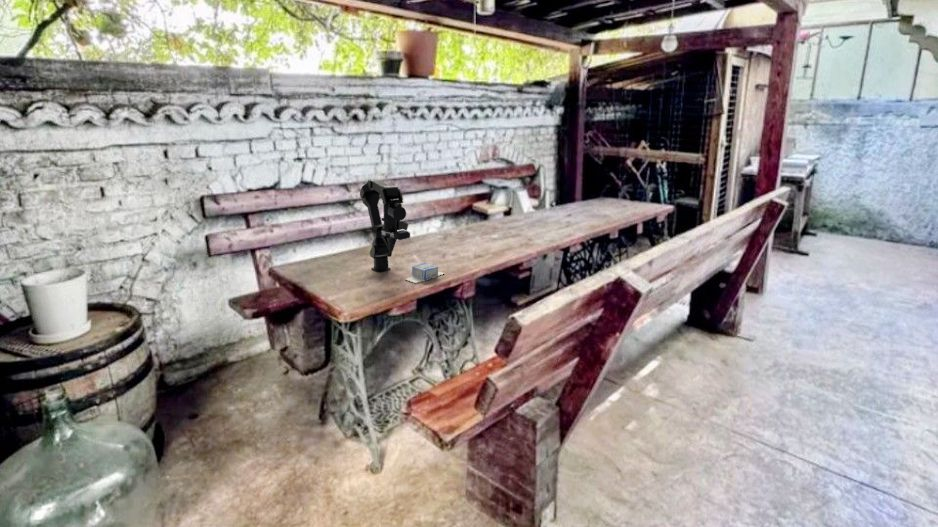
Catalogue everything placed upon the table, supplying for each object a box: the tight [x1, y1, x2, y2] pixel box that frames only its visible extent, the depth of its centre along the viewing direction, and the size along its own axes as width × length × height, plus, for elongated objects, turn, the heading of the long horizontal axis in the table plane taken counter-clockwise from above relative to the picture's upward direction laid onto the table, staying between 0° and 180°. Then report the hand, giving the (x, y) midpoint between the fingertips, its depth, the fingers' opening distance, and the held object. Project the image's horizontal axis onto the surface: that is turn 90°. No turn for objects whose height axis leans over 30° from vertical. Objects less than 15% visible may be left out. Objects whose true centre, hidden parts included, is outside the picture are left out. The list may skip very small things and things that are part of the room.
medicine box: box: [411, 262, 439, 281], centre depth 224 cm, size 8×4×9 cm
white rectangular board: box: [404, 270, 446, 284], centre depth 225 cm, size 6×18×1 cm, turn 139°
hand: (391, 251), depth 220 cm, fingers closed
